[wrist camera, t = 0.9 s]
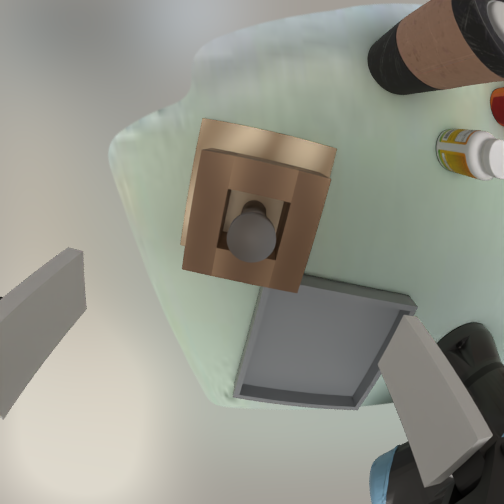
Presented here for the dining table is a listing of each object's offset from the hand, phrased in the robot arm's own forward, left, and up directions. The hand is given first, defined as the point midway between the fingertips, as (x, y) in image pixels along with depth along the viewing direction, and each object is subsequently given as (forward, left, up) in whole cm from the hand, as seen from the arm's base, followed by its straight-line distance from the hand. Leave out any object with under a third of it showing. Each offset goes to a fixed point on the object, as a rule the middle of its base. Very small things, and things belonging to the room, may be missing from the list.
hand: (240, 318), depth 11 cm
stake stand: (0, 0, -23) cm, 23 cm away
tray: (-13, +18, -23) cm, 32 cm away
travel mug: (-12, -19, -23) cm, 33 cm away
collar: (0, 0, -15) cm, 15 cm away
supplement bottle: (-22, -12, -23) cm, 34 cm away
